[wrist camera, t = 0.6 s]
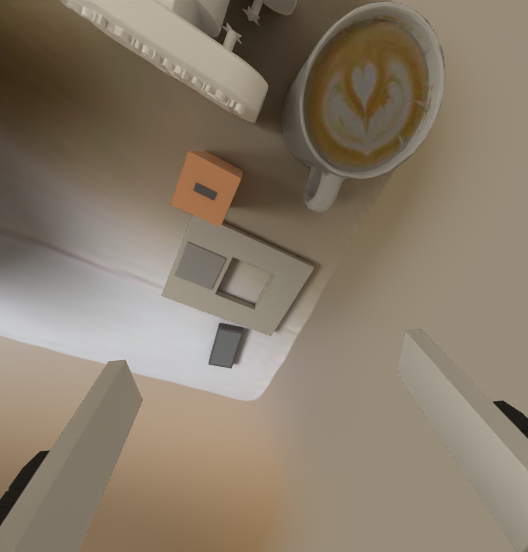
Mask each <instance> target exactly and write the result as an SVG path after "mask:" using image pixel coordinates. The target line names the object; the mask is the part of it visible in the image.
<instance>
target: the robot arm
mask: <svg viewBox="0 0 528 552" xmlns="http://www.w3.org/2000/svg"><path fill="white" fill-rule="evenodd" d="M397 374H398V376H399V378H400V379H401V380H402V382H403V384H404V385H405V386H406V388H407V389H408V391H409V392H410V394H411V395H412V397H413V398H414V400H415V401H416V403H417V404H418V406H419V407H420V409H421V410H422V412H423V413H424V415H425V416H426V418H427V419H428V421H429V422H430V424H431V425H432V427H433V428H434V430H435V431H436V433H437V434H438V436H439V437H440V439H441V440H442V442H443V443H444V445H445V446H446V448H447V449H448V451H449V452H450V454H451V455H452V457H453V458H454V459H455V461H456V463H457V464H458V466H459V467H460V469H461V470H462V472H463V473H464V475H465V476H466V478H467V479H468V481H469V482H470V484H471V485H472V487H473V488H474V490H475V491H476V493H477V494H478V496H479V497H480V499H481V500H482V502H483V503H484V505H485V506H486V508H487V509H488V511H489V512H490V514H491V515H492V516H493V518H494V520H495V521H496V523H497V524H498V525H499V527H500V528H501V530H502V531H503V533H504V534H505V536H506V538H507V539H508V540H509V542H510V543H511V545H512V546H513V548H514V550H515V551H516V552H528V418H527V417H526V416H524V414H523V413H521V412H520V411H518V410H517V409H515V408H514V407H512V406H510V405H509V404H507V403H506V402H504V401H495V402H492V401H491V400H490V399H489V398H488V397H487V396H486V395H485V394H484V393H483V392H482V391H481V390H480V389H479V388H478V387H477V386H476V385H475V384H474V383H473V382H472V381H471V380H470V379H469V378H468V377H467V376H466V375H465V374H464V372H462V370H461V369H460V368H459V367H457V365H456V364H455V363H454V362H453V361H452V360H451V359H450V358H449V357H448V356H447V355H446V354H445V353H444V352H443V351H442V350H441V349H440V348H439V347H438V346H437V345H436V344H435V343H434V342H433V341H432V340H431V338H430V337H429V336H428V335H427V334H426V333H425V332H424V331H423V330H422V329H418V330H409V331H405V335H404V340H403V345H402V349H401V354H400V359H399V364H398V369H397ZM142 401H143V399H142V397H141V395H140V392H139V390H138V388H137V386H136V383H135V381H134V379H133V376H132V374H131V372H130V369H129V367H128V365H127V362H126V360H118V361H109V362H108V363H107V365H106V366H105V368H104V369H103V371H102V372H101V374H100V375H99V377H98V378H97V380H96V381H95V383H94V385H93V386H92V388H91V389H90V391H89V392H88V394H87V395H86V397H85V398H84V400H83V401H82V403H81V404H80V406H79V407H78V409H77V410H76V412H75V413H74V415H73V417H72V418H71V419H70V421H69V423H68V424H67V426H66V427H65V429H64V430H63V432H62V433H61V435H60V436H59V438H58V439H57V441H56V442H55V444H54V445H53V447H52V448H51V450H49V451H40V452H39V453H38V454H37V455H36V456H35V457H34V458H33V459H32V460H31V461H30V462H29V463H28V464H27V465H25V466H24V467H23V468H22V470H21V471H20V473H19V474H18V475H17V477H16V478H15V480H14V481H13V483H12V484H11V485H10V487H9V490H8V491H7V492H5V494H4V495H3V497H2V498H1V499H0V552H79V551H80V548H81V546H82V544H83V541H84V539H85V537H86V534H87V532H88V529H89V527H90V524H91V522H92V520H93V517H94V515H95V513H96V510H97V508H98V505H99V503H100V501H101V498H102V496H103V494H104V491H105V489H106V486H107V484H108V482H109V479H110V477H111V475H112V472H113V470H114V467H115V465H116V463H117V460H118V458H119V455H120V453H121V451H122V448H123V446H124V444H125V441H126V439H127V436H128V434H129V432H130V429H131V427H132V425H133V422H134V420H135V417H136V415H137V413H138V410H139V408H140V405H141V403H142Z"/></svg>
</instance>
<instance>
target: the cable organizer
mask: <svg viewBox="0 0 528 552" xmlns="http://www.w3.org/2000/svg"><path fill="white" fill-rule="evenodd" d="M59 1H60V2H61V3H63V4H64V5H65V6H66V7H68V8H69V9H70V8H71V9H72V10H74V11H75V12H76V13H78V14H79V15H81V16H82V17H84V18H86V19H88V20H89V21H90V22H91V23H92V24H94V25H95V26H96V27H97V28H99V29H100V30H101V31H102V32H104V33H105V34H106V35H108V36H109V37H111V38H112V39H114V40H115V41H117V42H118V43H120V44H121V45H123V46H124V47H126V48H128V49H129V50H131V51H132V52H134V53H136V54H137V55H139V56H141V57H142V58H144V59H145V60H147V61H149V62H150V63H152V64H153V65H154V66H156V67H157V68H159V69H160V70H162V71H163V72H165V73H167V74H168V75H170V76H172V77H174V78H176V79H178V80H179V81H181V82H183V83H184V84H186V85H187V86H189V87H191V88H192V89H194V90H196V91H197V92H199V94H201V95H202V96H204V97H206V98H207V99H209V100H210V101H212V102H214V103H215V104H217V105H219V106H220V107H222V108H223V109H225V110H227V111H228V112H230V113H233V114H235V115H236V116H238V117H240V118H242V119H244V120H246V121H249V122H252V123H255V122H256V120H257V117H258V115H259V113H260V111H261V108H262V106H263V103H264V100H265V97H266V94H267V91H268V84H267V82H266V81H265V80H264V78H263V77H262V76H261V75H260V74H259V73H258V72H257V71H256V70H255V69H254V68H253V67H251V66H250V65H249V64H248V63H247V62H245V61H244V60H243V59H241V58H240V57H239V56H237V55H236V54H234V53H233V52H232V50H233V48H234V45H235V42H236V40H237V41H238V42H239V43H241V41H240V40H239V38H240V37H241V35H239V34H238V33H236V32H235V31H233V29H232V28H231V27H230V26H229V24H228V23H227V27H224V26H222V24H223V21H224V18H225V14H226V11H227V8H228V4H229V1H230V0H59ZM297 1H298V0H254V2H253V4H252V7H251V9H250V7H249V6H248V11H247V10H245V9H242V8H241V9H242V10H243V11H244V12H245V13H246V14H247V15H248V21H254V22H255V23H256V24H257V25H259V24H258V21H257V19H259V18H260V17H258V14H259V11H260V9H261V6H262V4H263V3H264V4H265V5H266V6H268V7H269V8H271V9H272V10H274V11H276V12H278V13H280V14H283V15H290V14H292V12H293V10H294V8H295V6H296V3H297ZM221 28H223V29H225V30H226V31H227V35H226V38H225V40H224V43H223V45H221V44H220V43H218V42H217V41H215V40H214V39H212V38H211V37H209V36H212V37H218V36H219V34H220V31H221ZM241 44H242V43H241Z"/></svg>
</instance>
